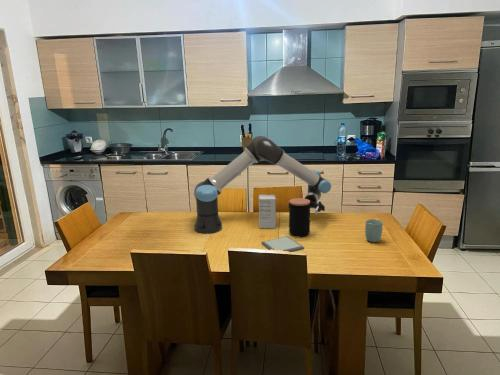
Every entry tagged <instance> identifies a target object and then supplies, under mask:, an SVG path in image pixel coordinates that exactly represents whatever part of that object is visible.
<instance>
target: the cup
mask: <svg viewBox="0 0 500 375" xmlns="http://www.w3.org/2000/svg"><path fill="white" fill-rule="evenodd" d="M383 226H384V222H383V221H382V220H379V219H376V218H375V219H374V218H371V219H367V220H365V229H364V235H365V239H366V240H367V241H369V242H371V243H377V242H379V241H381V239H382V236H383V230H384V229H383Z"/></svg>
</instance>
